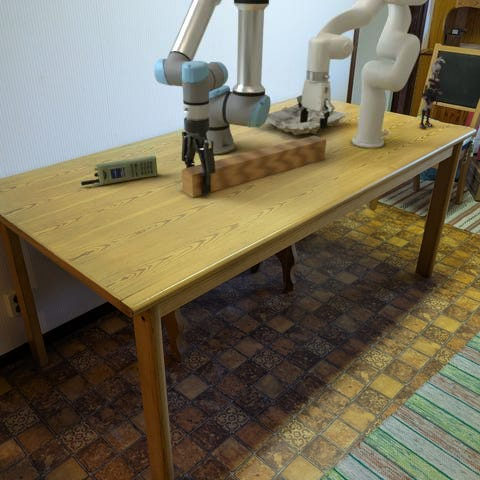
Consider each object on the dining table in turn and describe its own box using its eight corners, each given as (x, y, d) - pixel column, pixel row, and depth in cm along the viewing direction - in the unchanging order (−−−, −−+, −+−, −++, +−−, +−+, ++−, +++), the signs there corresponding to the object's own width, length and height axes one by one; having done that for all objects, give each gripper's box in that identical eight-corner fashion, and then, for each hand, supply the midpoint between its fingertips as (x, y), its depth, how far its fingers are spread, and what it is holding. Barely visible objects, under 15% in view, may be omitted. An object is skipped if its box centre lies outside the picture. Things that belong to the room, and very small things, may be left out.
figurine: (421, 131, 217) (435, 58, 202) (409, 128, 221) (422, 56, 206) (438, 124, 226) (453, 54, 211) (426, 121, 230) (440, 52, 215)
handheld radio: (158, 176, 170) (83, 189, 160) (155, 173, 172) (80, 186, 162) (156, 157, 167) (79, 169, 157) (153, 154, 169) (77, 166, 159)
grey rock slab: (245, 130, 217) (303, 143, 199) (245, 116, 214) (304, 128, 197) (296, 115, 242) (351, 125, 225) (297, 102, 239) (353, 111, 222)
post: (312, 154, 191) (314, 135, 187) (324, 159, 187) (326, 139, 183) (182, 191, 160) (181, 169, 156) (192, 197, 156) (191, 175, 152)
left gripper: (167, 111, 154) (171, 181, 165) (205, 128, 139) (207, 203, 151) (188, 107, 158) (190, 175, 169) (227, 123, 143) (227, 196, 155)
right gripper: (344, 79, 168) (338, 129, 176) (307, 70, 180) (303, 118, 188) (328, 82, 164) (323, 133, 172) (291, 73, 176) (288, 121, 184)
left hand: (198, 188), depth 160 cm, fingers open, 8 cm apart
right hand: (313, 125), depth 180 cm, fingers open, 9 cm apart
